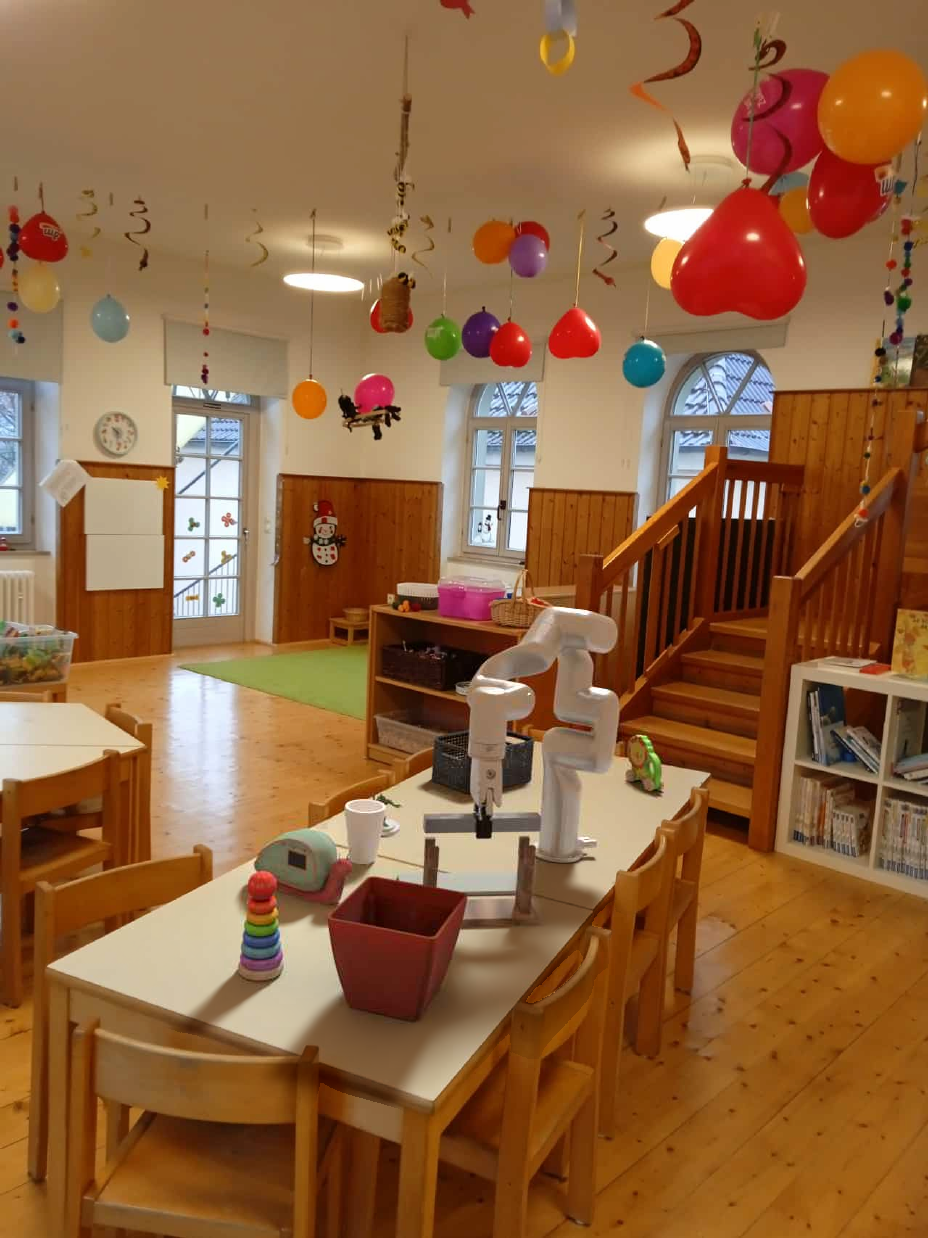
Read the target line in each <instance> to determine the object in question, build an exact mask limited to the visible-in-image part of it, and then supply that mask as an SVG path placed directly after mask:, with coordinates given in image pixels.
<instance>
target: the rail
mask: <svg viewBox="0 0 928 1238" xmlns="http://www.w3.org/2000/svg"><path fill="white" fill-rule="evenodd" d="M478 814H479V813H476V812H472V813H471V812H469V813H467V812H465V813H464V812H463V813H462V812H459V813H453V812H452V813H423V822H422V828H423V832H424V833H425V834H467V833H469V834H470V833H471V834H473V833H474V834H476V823H477V819H478ZM540 830H541V814H540V813H539V812H533V811H532V812H493V822H492V833H528V832H530V833H531V832H533V833H534V832H535V833H536V832H537V833H538V832H540Z"/></svg>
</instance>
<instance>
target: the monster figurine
mask: <svg viewBox="0 0 928 1238" xmlns="http://www.w3.org/2000/svg"><path fill="white" fill-rule="evenodd" d="M371 791H372V800H375V801H379V802H381V803H384V805H385V806H387V805H391V806H392V807H394V808H395V809H401V808H403V806H402V805H401V804H394V802H393V800H392V799H390V798H387V797H386V796H384V795H383V793H380V795H378V796H377V798H376V792H375V791H373V789H372V790H371ZM400 829H401V826H400V824H399V822H398V821H396V820H393V819H390V818H388V817H387V814H385V818H384V822H383V827H382V832H381V836H386V837H389V836H388V835H391V836H394V835H396V834H398V833H399V832H400ZM397 832H398V833H397ZM395 833H396V834H395ZM393 834H394V835H393Z"/></svg>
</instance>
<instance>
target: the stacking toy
mask: <svg viewBox="0 0 928 1238" xmlns="http://www.w3.org/2000/svg"><path fill="white" fill-rule="evenodd" d="M276 888H277V882H276V879H275V877H274V876H273V875H272V874H271V873H269V872H266V871H260V872H257V871H256V872H255V873H253V874H251V876H250V877H249V879H248V882H247V891H248V892H247V893H248V894H249V896H250V898H249V899H248V900H247V902H246V903H247V905H246V906H247V909H248V910H247V911H246V915H245V918H246V920H245V921H244V925H243V928H244V931H243V933H242V941H241V943H240V949H241V953H240V956H239V960H240V961H239V962H238V965H237V971H238V973H239V974H240V976H241V977H242V978H244V979H245V980H248V981H255V982H258V981H259V982H260V981H261V982H262V981H268V980H271V979H274V978H276V977H278V976H279V975H280V974H281V973H282V972H283V970H284V964H285V963H284V960H283V958H284V951H283V949H282V943H281V939H280V937H281V933H280V929H279V925H280V923H279V919H278V917H279V911H278V909H277V908H276V907H277V899H276V897H274V894H275V893H276V891H277V889H276Z"/></svg>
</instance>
